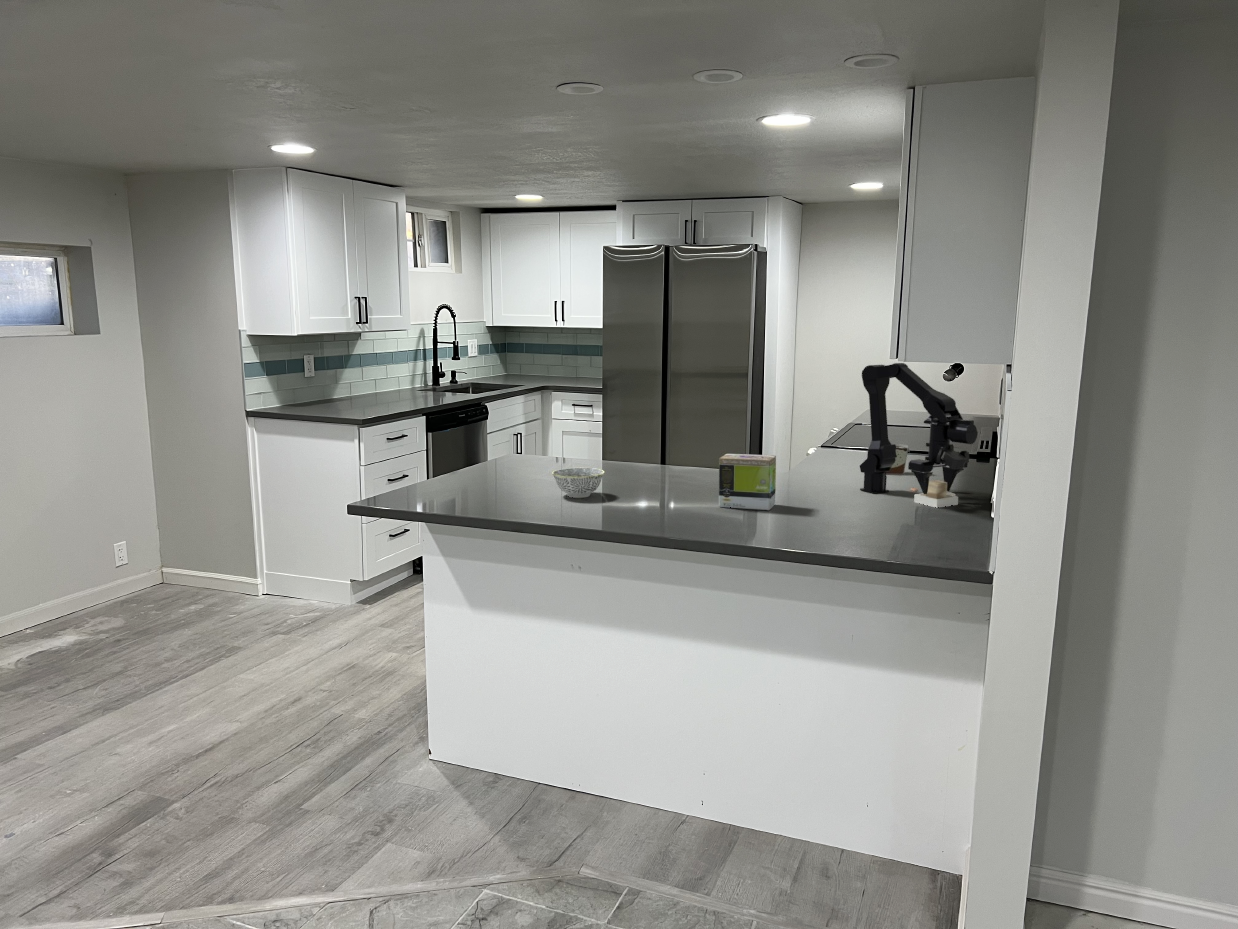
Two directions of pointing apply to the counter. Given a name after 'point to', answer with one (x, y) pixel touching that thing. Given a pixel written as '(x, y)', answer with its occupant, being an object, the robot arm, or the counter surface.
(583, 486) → the bowl
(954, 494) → the crank base
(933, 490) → the block
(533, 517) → the counter surface
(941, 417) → the robot arm
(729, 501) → the tea box
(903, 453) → the food container
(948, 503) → the tray
